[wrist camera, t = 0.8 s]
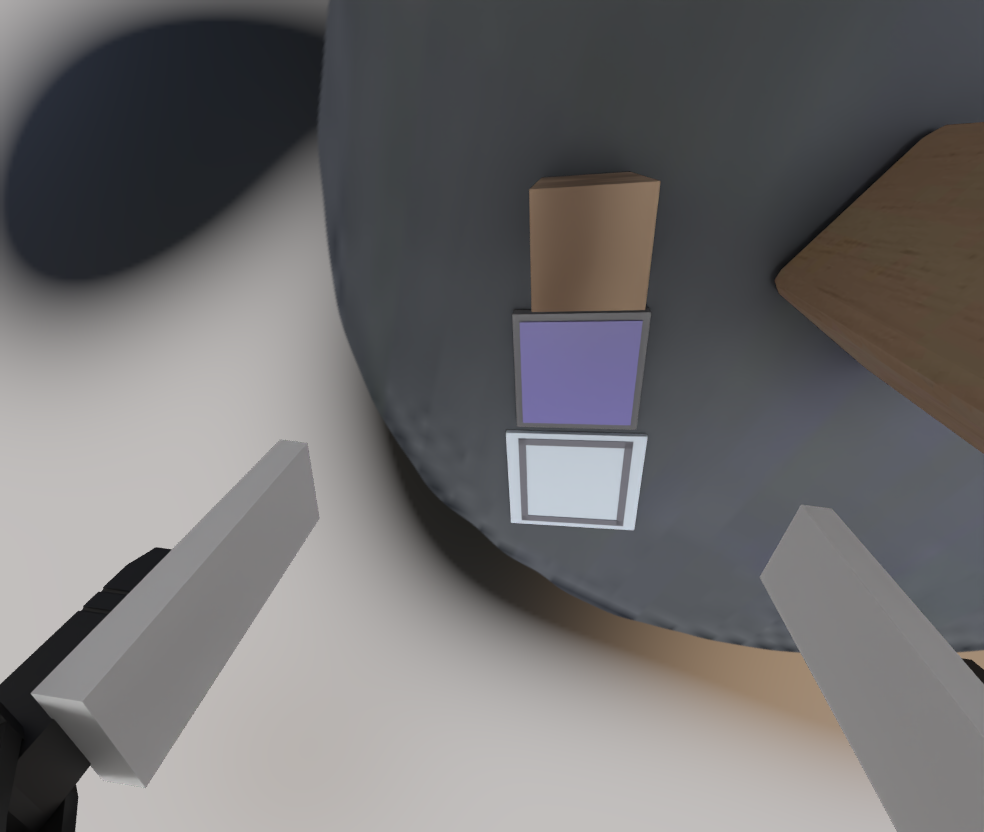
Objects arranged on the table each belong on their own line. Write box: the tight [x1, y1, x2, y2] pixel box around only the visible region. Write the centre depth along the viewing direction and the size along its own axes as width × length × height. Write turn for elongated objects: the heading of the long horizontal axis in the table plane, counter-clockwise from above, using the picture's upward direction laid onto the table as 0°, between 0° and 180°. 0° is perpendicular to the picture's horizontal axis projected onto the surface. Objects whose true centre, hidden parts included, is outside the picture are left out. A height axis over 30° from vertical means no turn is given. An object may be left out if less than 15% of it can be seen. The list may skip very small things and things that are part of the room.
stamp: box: [529, 171, 661, 312], centre depth 22 cm, size 5×5×10 cm
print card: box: [506, 430, 647, 530], centre depth 37 cm, size 11×10×1 cm
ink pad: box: [512, 308, 651, 430], centre depth 31 cm, size 9×9×1 cm
